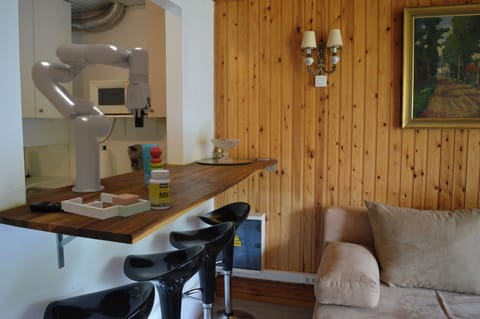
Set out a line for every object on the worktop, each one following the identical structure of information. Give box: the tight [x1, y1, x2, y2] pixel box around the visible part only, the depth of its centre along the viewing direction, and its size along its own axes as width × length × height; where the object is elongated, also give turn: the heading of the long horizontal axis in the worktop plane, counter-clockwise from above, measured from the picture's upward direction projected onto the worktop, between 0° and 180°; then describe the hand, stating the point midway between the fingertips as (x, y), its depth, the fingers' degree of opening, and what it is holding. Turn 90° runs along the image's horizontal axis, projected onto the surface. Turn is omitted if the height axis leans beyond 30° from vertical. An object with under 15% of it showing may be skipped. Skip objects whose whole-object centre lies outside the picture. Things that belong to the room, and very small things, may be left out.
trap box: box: [61, 192, 152, 221], centre depth 121 cm, size 24×17×3 cm
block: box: [111, 193, 140, 207], centre depth 120 cm, size 6×6×5 cm
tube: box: [140, 143, 159, 187], centre depth 168 cm, size 7×5×19 cm, turn 109°
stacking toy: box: [147, 146, 164, 190], centre depth 158 cm, size 8×8×19 cm
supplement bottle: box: [148, 169, 172, 210], centre depth 125 cm, size 7×7×13 cm
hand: (139, 127), depth 145 cm, fingers closed
